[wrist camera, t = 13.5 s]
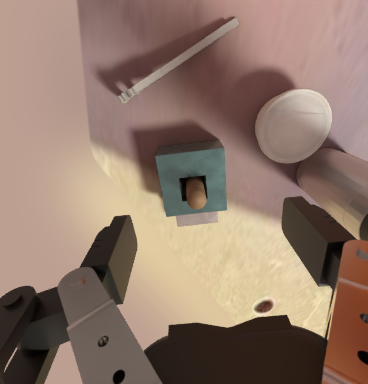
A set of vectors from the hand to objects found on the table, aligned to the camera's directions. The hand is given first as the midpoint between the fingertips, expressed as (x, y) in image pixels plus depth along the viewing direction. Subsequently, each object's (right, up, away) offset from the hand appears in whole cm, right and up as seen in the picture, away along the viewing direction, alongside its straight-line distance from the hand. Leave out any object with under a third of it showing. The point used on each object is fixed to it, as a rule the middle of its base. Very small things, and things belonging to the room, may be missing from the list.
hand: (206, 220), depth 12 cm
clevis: (+1, +3, +32) cm, 32 cm away
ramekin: (+16, +14, +27) cm, 34 cm away
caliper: (-2, +22, +23) cm, 32 cm away
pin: (+1, +5, +31) cm, 32 cm away
